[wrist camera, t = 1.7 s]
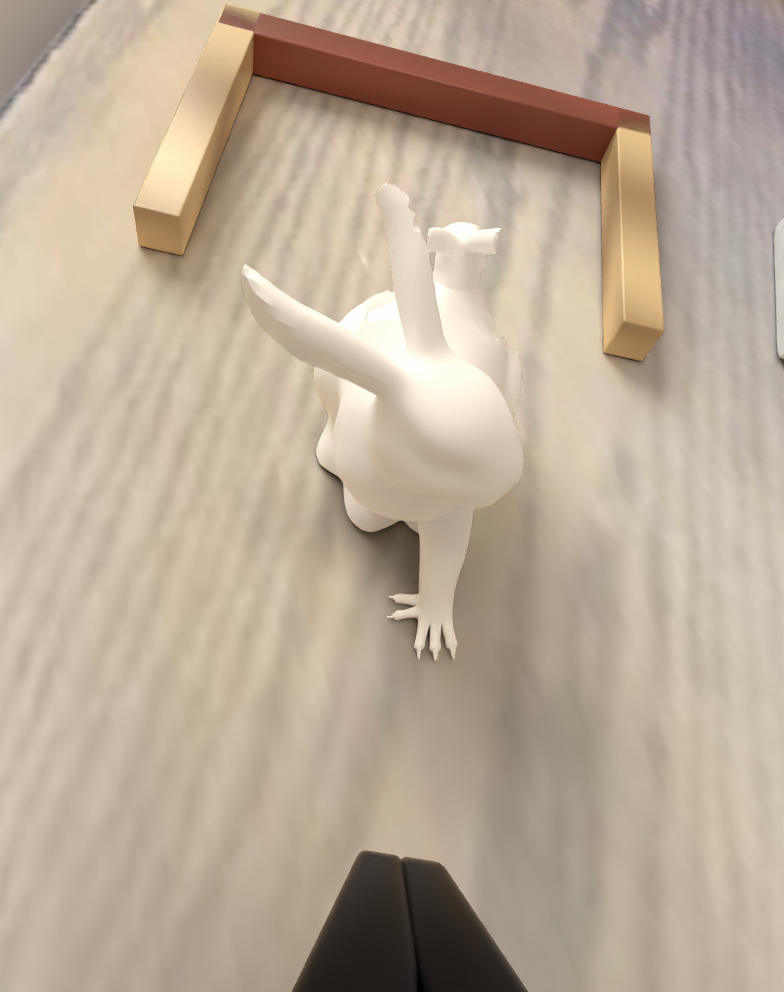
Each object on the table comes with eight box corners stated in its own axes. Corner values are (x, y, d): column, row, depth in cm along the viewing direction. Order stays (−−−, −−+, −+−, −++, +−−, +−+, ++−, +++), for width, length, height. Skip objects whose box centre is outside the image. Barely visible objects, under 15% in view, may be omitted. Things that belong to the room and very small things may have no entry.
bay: (642, 362, 29) (665, 331, 27) (138, 246, 27) (132, 205, 25) (631, 149, 35) (650, 114, 34) (225, 44, 33) (224, 2, 32)
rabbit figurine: (452, 670, 21) (589, 520, 13) (195, 602, 21) (168, 402, 13) (506, 358, 27) (623, 119, 19) (307, 300, 27) (338, 31, 19)
